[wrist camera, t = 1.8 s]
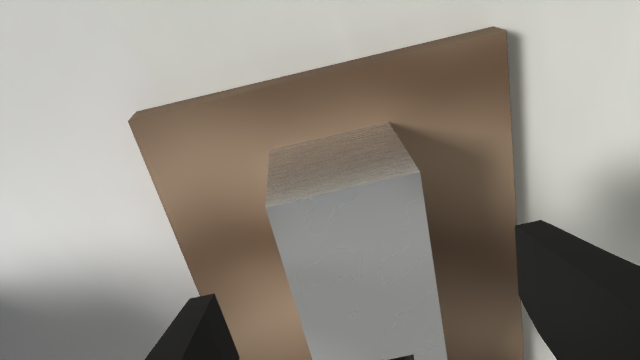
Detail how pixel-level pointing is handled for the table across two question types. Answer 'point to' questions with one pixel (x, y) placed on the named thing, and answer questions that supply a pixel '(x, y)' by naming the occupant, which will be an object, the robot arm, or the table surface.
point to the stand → (333, 118)
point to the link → (356, 246)
